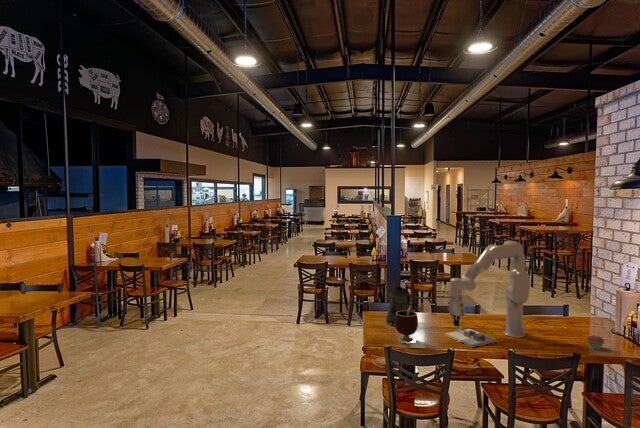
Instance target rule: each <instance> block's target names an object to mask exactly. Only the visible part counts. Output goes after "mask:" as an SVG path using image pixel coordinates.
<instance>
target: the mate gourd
mask: <svg viewBox="0 0 640 428" xmlns="http://www.w3.org/2000/svg"><path fill="white" fill-rule="evenodd" d="M411 308H412V305H409V307H408V310H407V311H398V312H396V315H395V326H394V327H395V330H396V331H397V332H398V333H399V334H401V335H402V336H401V337H402V338H400V339H401V340H402V341H407V342H410V341H412V340H413V339H412V338H413V337H412V338H409V337H410V335H414V334H415V333H416V331H417V330H418V326H419V323H418V322H419V320H418V313H417V312H416V311H412V309H411Z"/></svg>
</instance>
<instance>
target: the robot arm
mask: <svg viewBox="0 0 640 428" xmlns="http://www.w3.org/2000/svg"><path fill="white" fill-rule="evenodd" d="M503 259H509V260H510V262H509V271H508V272H509V273H508V279H509V281H511V283H513V284H510V285H508V286H507V287H506V288H505V291H504V295H505V303H506V305H505V308H506V309H505V313H506V314H505V315H506V317H505V318H506V321H505V323H506V324H505V325H506V326H505V330H503V334H504V335H505V336H507V337H510V338H520V339H521V338H525V337H526V333H525V331H528V327H525V326H524V308H523V307H524V306H523V305H524V304H525V303H526V302H527V301H528V299H529V296H530V289H531V277H530V274H529V273H528V272H527V271H526V255H525V253H524V246H523V245H522V244H521V243H520V242H518V241H514V240H508V239H507V240H506V241H504V242H503V244H501V245H496V244H488V245H487V246H486V248H485V249H484V250H483V251H482V253H480V255H479V257H478V259H476V261H475V262H474V263H473V264H472V265H471V266H469V268H467V269H466V271H465V272H464V274H463V275H462V276H461V278H460V277H452V278H450V280H449V303H448V312H449V315H450V316H452V319H453V326H455V327H459V323H460V320H461V319H463V318H464V316H465V315H466V311H465V309H466V308H465V303H464V302H465V301H464V300H463V291H466V292H467V291H468V292H472V291H474V290H475V289H476V287H477V284H476V281H475V279H477V277H478V276H479V275H481V274H482V273H484V272H486V271H488V270H489V269H490V268H491V266H492V265H493V263H494V262H495V261H496V260H503Z"/></svg>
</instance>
